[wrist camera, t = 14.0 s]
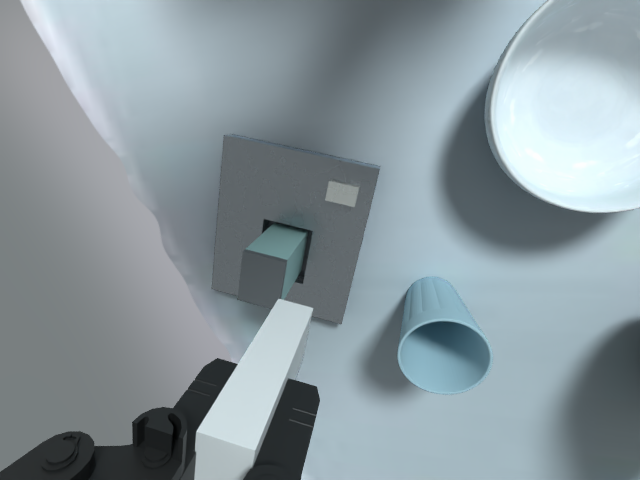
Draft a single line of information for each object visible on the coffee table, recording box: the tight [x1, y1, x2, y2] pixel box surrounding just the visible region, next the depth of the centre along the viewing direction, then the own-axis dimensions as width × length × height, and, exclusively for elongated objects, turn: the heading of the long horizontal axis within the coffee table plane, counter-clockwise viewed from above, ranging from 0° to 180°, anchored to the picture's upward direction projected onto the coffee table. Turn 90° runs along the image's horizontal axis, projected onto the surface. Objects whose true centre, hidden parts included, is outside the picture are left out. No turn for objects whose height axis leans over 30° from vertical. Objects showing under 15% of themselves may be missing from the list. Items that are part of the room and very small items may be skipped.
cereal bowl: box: [485, 0, 640, 213], centre depth 27 cm, size 17×17×7 cm
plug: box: [237, 223, 308, 309], centre depth 36 cm, size 5×4×9 cm
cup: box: [397, 277, 493, 395], centre depth 35 cm, size 8×8×10 cm
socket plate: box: [212, 134, 380, 324], centre depth 38 cm, size 18×16×3 cm
